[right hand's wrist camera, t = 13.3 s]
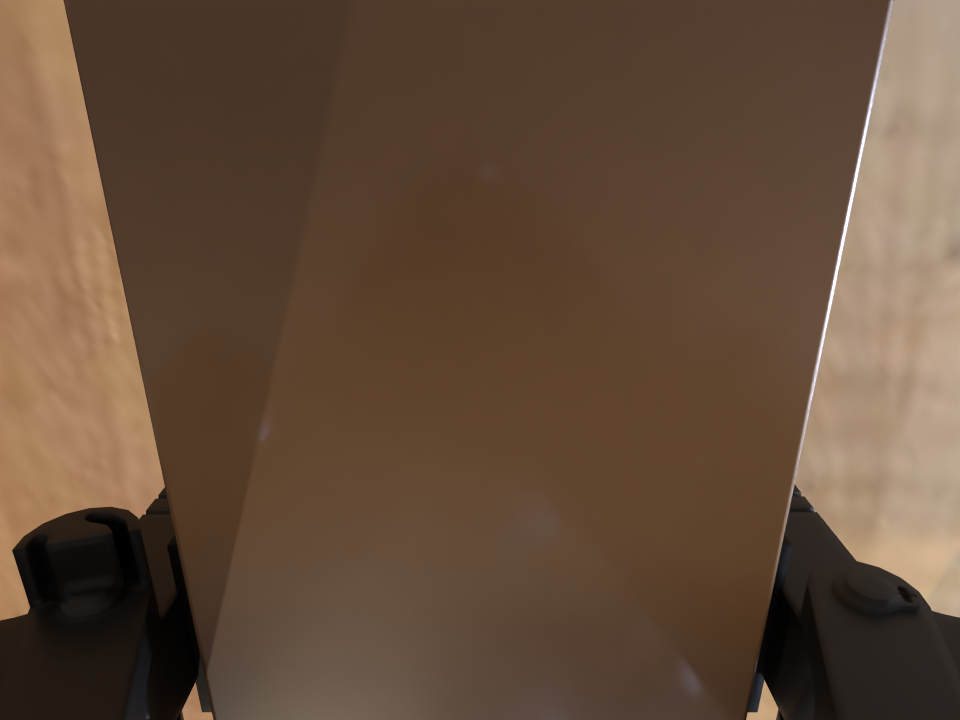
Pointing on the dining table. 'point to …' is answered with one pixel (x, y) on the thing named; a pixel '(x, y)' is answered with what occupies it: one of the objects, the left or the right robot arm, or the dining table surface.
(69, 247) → the dining table surface
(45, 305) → the dining table surface
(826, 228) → the post
